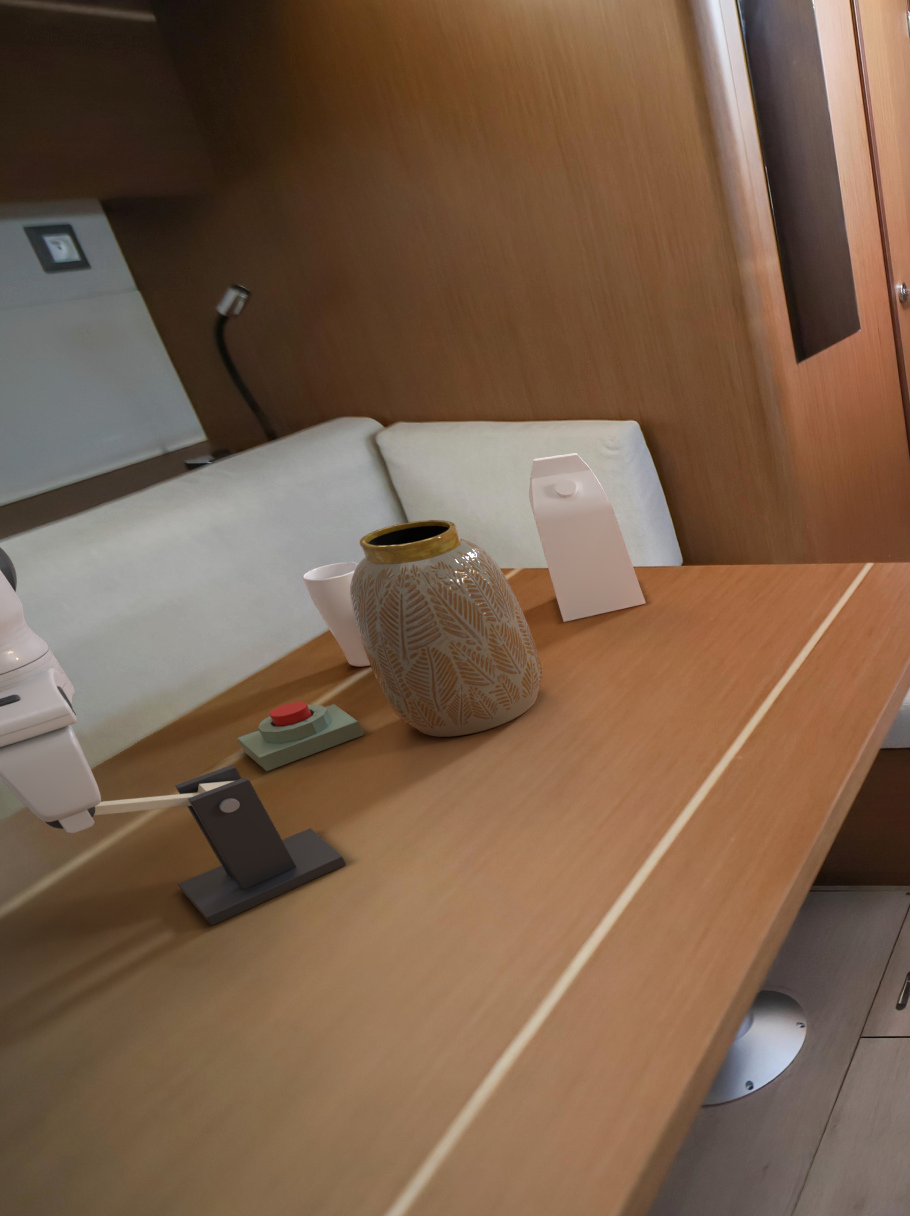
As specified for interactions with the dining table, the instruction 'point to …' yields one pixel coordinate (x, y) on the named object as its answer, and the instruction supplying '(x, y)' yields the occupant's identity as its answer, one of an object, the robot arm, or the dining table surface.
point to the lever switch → (145, 803)
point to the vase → (443, 630)
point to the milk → (581, 539)
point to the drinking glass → (337, 607)
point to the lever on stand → (247, 849)
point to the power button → (290, 714)
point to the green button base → (299, 737)
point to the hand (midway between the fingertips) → (74, 819)
